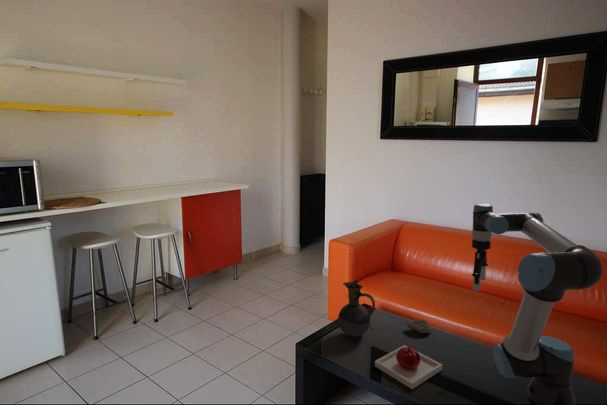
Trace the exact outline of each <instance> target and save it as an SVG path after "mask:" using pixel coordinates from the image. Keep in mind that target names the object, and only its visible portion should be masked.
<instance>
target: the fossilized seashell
mask: <svg viewBox="0 0 607 405" xmlns="http://www.w3.org/2000/svg"><path fill="white" fill-rule="evenodd" d="M406 325H407V327H408V328H409V329H410V330H412V331H414V332H415V333H419V334H420V333H421V334H426V335H427V334H431V332H432V329H431V327H430V324H429V323H428V322H427V320H425V319H418V320H412V321H408V322H407V323H406Z"/></svg>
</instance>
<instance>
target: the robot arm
mask: <svg viewBox="0 0 607 405" xmlns="http://www.w3.org/2000/svg"><path fill="white" fill-rule="evenodd" d="M493 208H494V207H493V205H492V204H490V203H475V204H474V205H473V211H472V232H471V233H472V234H471V238H472V239H471V248H473V249H475V250H476V252H475V253H474V262H473V269H472V270H473V271H472V273H471V276H472V277H473V285H472V291H477V292H481V283H482V282H481V281H484V282H485V281H486V277H487V276H486V274H487V272H486V271H487V267H488V266H489V265H488V262H487V260H488V259H487V250H490V249H491V246H492V241H491V239H492V236H493V234H494V235H503V234H504V233H506V232H507V233H508V232H522V233H523V235H525V236H527V237H528V238H530V240H532V241H533V242H535V243H536V244H537V245H538V246H539V247H541V248H542V249H543V250H545V251H546V252H544V251H543V252H542V251H540V252H535V253H534V252H533V253H528V254H526V255H525V256H523V257H522V259H521V260H520V262H519V264H518V266H517V267H518V268H517V272H518V274H517V277H518V282H519V284H520V285H521V288H522V289H523V291H524V293H523V296H522V299H521V302H520V305H519V308H518V311H517V314H516V316H515V317H516V318H515V320H514V322H513V326H512V329H511V332H510V333H508V334H506V335H505V336H504V337H503V340H502V343H499V342H498V343H495V344H493V346H492V355H493V360H494V363H495V366H496V369H497V370H498V372H499V373H500V375H501V376H503V377H505V378H511V379H515V378H518V379H519V378H531V380H530V381H529V383H528V385H527V392H526V393H527V396H528V398H529V400H531V402H533V404H535V405H576V402H577V401H576V397H575V394H574V391H573V387H572V380H573V369H574V362H575V351H574V349H573V348H572V346H571V345H570V344H568V343H567V342H565V341H563V340H561V339H559V338H556V337H554V336H553V337H552V336H548V335H542V334H543V332H544V330H545V327H546V324H547V322H548V319H549V317H550V315H551V312H552V309H553V307H554V305H555V303H559V302H560V301H562V300H563V298H564V296H565V294H566V291H576V290H577V291H578V290H581V291H582V290H586V289H590V288H592V287H593V286H595V285H597V284H598V283H599V282H600V280H601V279H602V276H603V273H604V271H603V270H604V267H603V263H602V261H601V259H600V257H599V256H598V255H597V254H596V253H595V252H593V250H591V249H589V248H588V247H587V246H585V245H583V244H576V243H575V242H573V241H572V240H570V239H569V238H568V237H566V236H564V235H563V234H562V233H559V231H556V230H555V229H553V228H552V227H551V226H549V225H547V224H546V223H545V222H544V219H543V218H544V217H542V215H541V213H538V212H531V211H528V212H507V213H506V212H504V213H502V212H500V213H495V212H494V209H493Z"/></svg>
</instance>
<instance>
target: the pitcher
mask: <svg viewBox="0 0 607 405" xmlns="http://www.w3.org/2000/svg"><path fill="white" fill-rule="evenodd" d="M359 282H360V280H359V279H355V280H352V281H350V282H349V281H348V282H343V283H342V285H344V286H345V287H346V288H347V290H348V296H347V297H348V304H345V305H344V306H342V308H341V309H340V310H339V313H338V316H337V317H338V318H337V322H338V325H339V326H338V327H340V329H341V331H342V332H343V333H344V334H346V338H347V339H348V340H352V341H360V340H362V339H363V335H365V333H366V332H367V331H368V330H369V328H370V329H371V330H372V331H374V328H373V326H372V325H371V316H372V314H373V312H374V309H375V307H376V301H375V298H374V296H372V295H371V294H369V293H367V292H363V293H362V292H361V289H363V287H364V285H362V284H359ZM361 297H366V298H368V299H370V301H371V306H372V307H371V311H370V313H369V310H368V309H367V308H366V307H365V306H364V305H362V304H360V298H361Z"/></svg>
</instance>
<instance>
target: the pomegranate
mask: <svg viewBox="0 0 607 405" xmlns="http://www.w3.org/2000/svg"><path fill="white" fill-rule="evenodd" d="M410 348H411V349H410ZM412 349H413V350H412ZM418 352H419V351H417V350H415V349H414V347H412V345H408V346H407V348H404V349H400V350H399V351H398V353H397V355H396V359H397V362H398V364H399V365H400V366H401V367H402V368H404V369H406V370H413V369H416V368H417V367H418V366H419V364H420V356H419V354H418Z"/></svg>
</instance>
